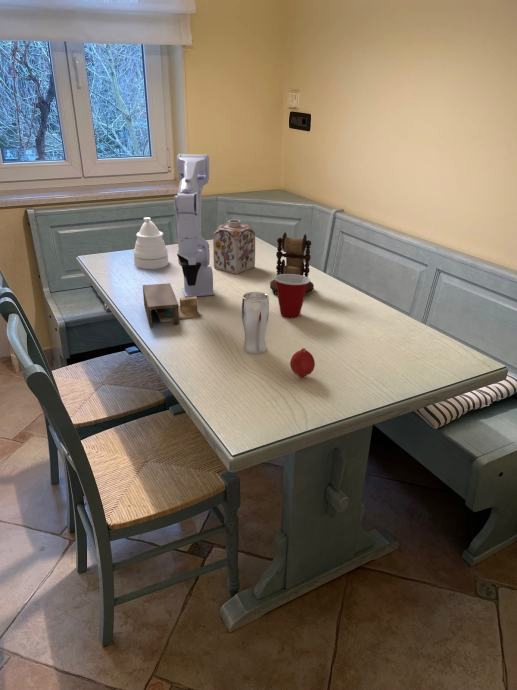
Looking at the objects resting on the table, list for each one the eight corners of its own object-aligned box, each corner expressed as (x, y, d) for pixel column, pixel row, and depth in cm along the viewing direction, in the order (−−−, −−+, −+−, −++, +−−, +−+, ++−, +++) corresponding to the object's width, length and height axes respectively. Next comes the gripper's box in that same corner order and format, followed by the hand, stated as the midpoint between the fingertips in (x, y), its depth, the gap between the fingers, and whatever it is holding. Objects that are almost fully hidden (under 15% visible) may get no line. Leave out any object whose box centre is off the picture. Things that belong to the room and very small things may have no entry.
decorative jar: (232, 261, 208) (232, 215, 200) (255, 267, 202) (256, 220, 194) (212, 268, 199) (211, 221, 191) (236, 275, 193) (236, 226, 185)
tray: (193, 307, 166) (193, 292, 164) (200, 318, 158) (200, 302, 156) (155, 311, 162) (154, 296, 160) (161, 323, 154) (159, 307, 152)
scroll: (316, 286, 184) (320, 230, 175) (308, 301, 171) (312, 241, 162) (275, 282, 187) (277, 226, 178) (264, 296, 175) (266, 236, 166)
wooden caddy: (171, 302, 168) (170, 283, 165) (179, 325, 152) (178, 304, 149) (144, 304, 166) (142, 285, 163) (149, 327, 150) (148, 306, 147)
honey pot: (165, 269, 198) (162, 221, 190) (131, 268, 198) (126, 220, 190) (170, 259, 209) (168, 213, 201) (138, 258, 209) (134, 212, 201)
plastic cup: (313, 311, 163) (315, 274, 158) (300, 324, 155) (303, 285, 149) (280, 305, 167) (282, 269, 162) (267, 317, 159) (268, 279, 153)
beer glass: (264, 356, 136) (266, 302, 129) (238, 353, 137) (239, 299, 130) (269, 344, 142) (271, 292, 135) (244, 342, 143) (245, 290, 136)
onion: (288, 371, 129) (289, 342, 125) (311, 370, 130) (313, 341, 126) (291, 383, 124) (293, 353, 120) (315, 382, 124) (317, 352, 121)
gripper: (206, 242, 146) (207, 288, 152) (197, 229, 158) (198, 272, 164) (180, 243, 144) (182, 290, 150) (173, 230, 157) (176, 273, 163)
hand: (189, 281), depth 157 cm, fingers open, 7 cm apart
